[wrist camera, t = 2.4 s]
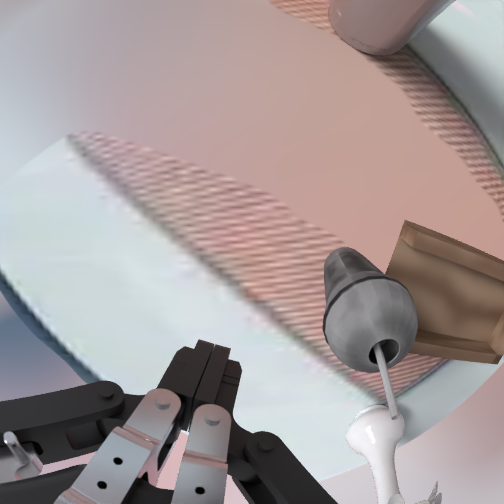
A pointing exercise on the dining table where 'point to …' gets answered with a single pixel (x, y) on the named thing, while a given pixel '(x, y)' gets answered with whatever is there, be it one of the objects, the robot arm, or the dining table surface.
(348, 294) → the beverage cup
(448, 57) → the dining table surface
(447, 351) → the u rest
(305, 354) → the dining table surface
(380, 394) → the dining table surface
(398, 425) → the flower vase
